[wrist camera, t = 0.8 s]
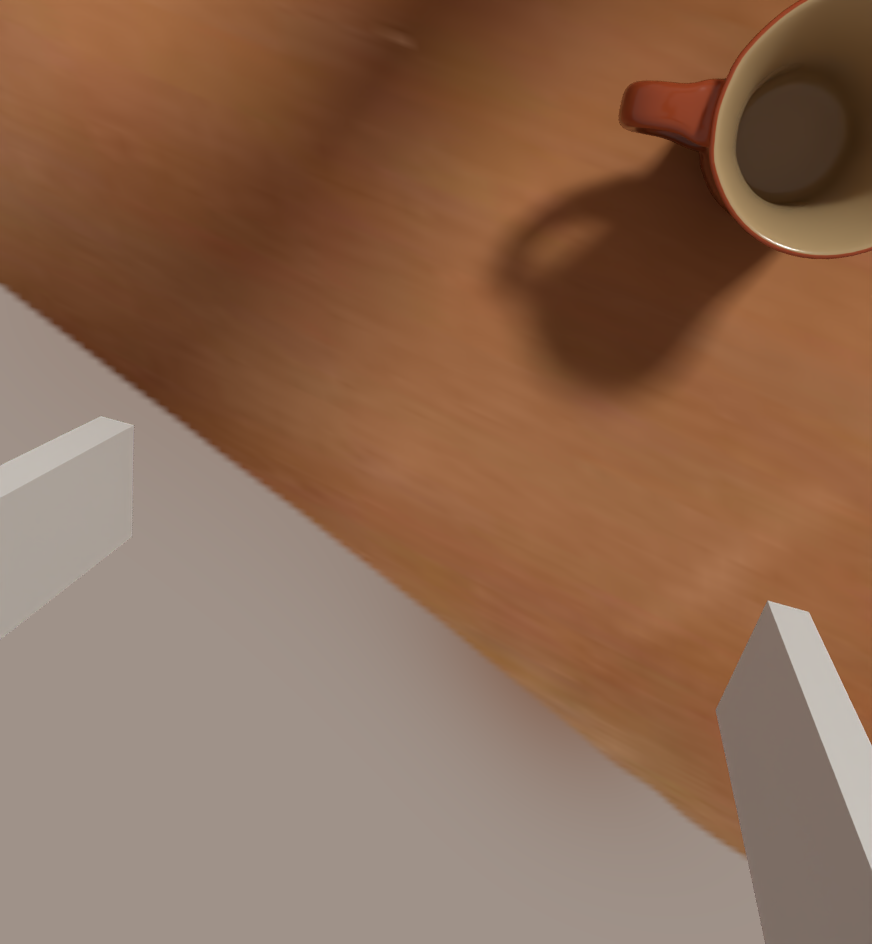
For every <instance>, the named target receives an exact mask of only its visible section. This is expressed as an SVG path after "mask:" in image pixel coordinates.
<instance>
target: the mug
mask: <svg viewBox="0 0 872 944" xmlns="http://www.w3.org/2000/svg"><path fill="white" fill-rule="evenodd" d="M619 123H620V125H621V126H622V127H623V128H624V129H626V130H629V131H632V132H636V133H641V134H646V135H651V136H656V137H660V138H664V139H667V140H670V141H672V142H674V143H677V144H679V145H681V146H683V147H685V148H688V149H691V150H694V151H697V152H700V154H699V159H700V166H701V170H702V173H703V176H704V179H705V182H706V184H707V186H708V188H709V190H710V192H711V194H712V195H713V197H714V198H715V200H716V201H717V202H718V203H719V205H720V206H721V207H722V208H723V209H724V210H725V211H727V212H728V213H729V214H731V215H732V217H733V218H734V219H735V220H736V221H737V223H738V224H739V225H740V226H741V227H742V228H743V229H744V230H745V231H746V232H747V233H748V234H750V235H751V236H752V237H754V238H755V239H756V240H758V241H759V242H761V243H763V244H765V245H766V246H768V247H770V248H772V249H775V250H777V251H779V252H783V253H786V254H789V255H793V256H797V257H802V258H811V259H833V258H842V257H848V256H854V255H858V254H861V253H865V252H868V251H871V250H872V0H799V1H797V2H796V3H794V4H793V5H791V6H790V7H788V8H787V9H786V10H784V11H783V12H781V13H780V14H779V15H778V16H777V17H775V18H774V19H773V20H772V21H771V22H769V23H768V24H767V25H766V26H765V27H764V28H763V29H762V30H761V31H760V32H759V33H758V34H757V35H756V36H755V37H754V38H753V39H752V40H751V41H750V42H749V44H748V45H747V46H746V47H745V48H744V49H743V51H742V52H741V53H740V54H739V56H738V57H737V59H736V61H735V62H734V64H733V66H732V67H731V69H730V72H729V74H728V76H727V78H725V79H708V80H703V81H700V82H695V83H675V82H665V81H637V82H634V83H632V84H630V85H629V86H628V87H627V88H626V89H625V91H624V94H623V97H622V100H621V105H620V109H619Z"/></svg>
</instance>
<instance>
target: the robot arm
mask: <svg viewBox="0 0 872 944" xmlns="http://www.w3.org/2000/svg"><path fill="white" fill-rule="evenodd" d="M133 460H134V425H132V424H128V423H125V422H121V421H118V420H114V419H110V418H107V417H103V416H100V417H98V418H96V419H94V420H92V421H90V422H87V423H85V424H83V425H81V426H79V427H77V428H75V429H73V430H71V431H69V432H67V433H65V434H63V435H61V436H59V437H57V438H55V439H53V440H51V441H49V442H47V443H45V444H42V445H40V446H38V447H36V448H34V449H33V450H30V451H28V452H26V453H24V454H22V455H20V456H18V457H16V458H14V459H12V460H10V461H8V462H6V463H4V464H2V465H0V640H1V639H2V638H3V637H4V636H6V635H7V634H8V633H10V632H11V631H12V630H13V629H15V628H16V627H17V626H19V625H20V624H21V623H22V622H24V621H25V620H26V619H27V618H29V617H30V616H31V615H33V614H34V613H35V612H37V611H38V610H39V609H40V608H42V607H43V606H44V605H45V604H47V603H48V602H49V601H50V600H52V599H53V598H54V597H56V596H57V595H58V594H60V593H61V592H62V591H63V590H65V589H66V588H67V587H68V586H70V585H71V584H72V583H74V582H75V581H76V580H78V579H79V578H80V577H81V576H83V575H84V574H85V573H86V572H88V571H89V570H90V569H92V568H93V567H94V566H95V565H97V564H98V563H99V562H100V561H102V560H103V559H104V558H106V557H107V556H108V555H110V554H111V553H112V552H113V551H115V550H116V549H117V548H119V547H120V546H121V545H122V544H124V543H125V542H126V541H128V540H129V539H130V538H131V537H132V516H133V515H132V514H133V510H132V509H133ZM716 714H717V718H718V723H719V728H720V732H721V737H722V742H723V747H724V751H725V756H726V761H727V765H728V770H729V775H730V780H731V784H732V789H733V794H734V798H735V803H736V808H737V813H738V817H739V822H740V827H741V831H742V836H743V841H744V846H745V850H746V855H747V860H748V864H749V869H750V874H751V878H752V883H753V888H754V893H755V897H756V902H757V907H758V911H759V916H760V921H761V926H762V930H763V935H764V940H765V944H872V745H871V743H870V741H869V739H868V737H867V735H866V733H865V731H864V728H863V726H862V724H861V722H860V720H859V718H858V716H857V714H856V711H855V709H854V707H853V705H852V703H851V701H850V699H849V697H848V694H847V692H846V690H845V688H844V686H843V684H842V682H841V680H840V677H839V675H838V673H837V671H836V669H835V667H834V665H833V662H832V660H831V658H830V656H829V654H828V652H827V650H826V648H825V645H824V643H823V641H822V639H821V637H820V635H819V633H818V631H817V628H816V626H815V624H814V622H813V620H812V618H811V616H810V614H809V612H807V611H803V610H799V609H796V608H792V607H789V606H785V605H781V604H778V603H774V602H771V601H767V603H766V605H765V607H764V609H763V611H762V613H761V616H760V618H759V620H758V622H757V624H756V626H755V628H754V630H753V632H752V635H751V637H750V639H749V641H748V643H747V645H746V647H745V649H744V651H743V654H742V656H741V658H740V660H739V662H738V664H737V666H736V668H735V670H734V673H733V675H732V677H731V679H730V681H729V683H728V685H727V687H726V689H725V692H724V694H723V696H722V698H721V700H720V702H719V704H718V706H717V708H716Z"/></svg>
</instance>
